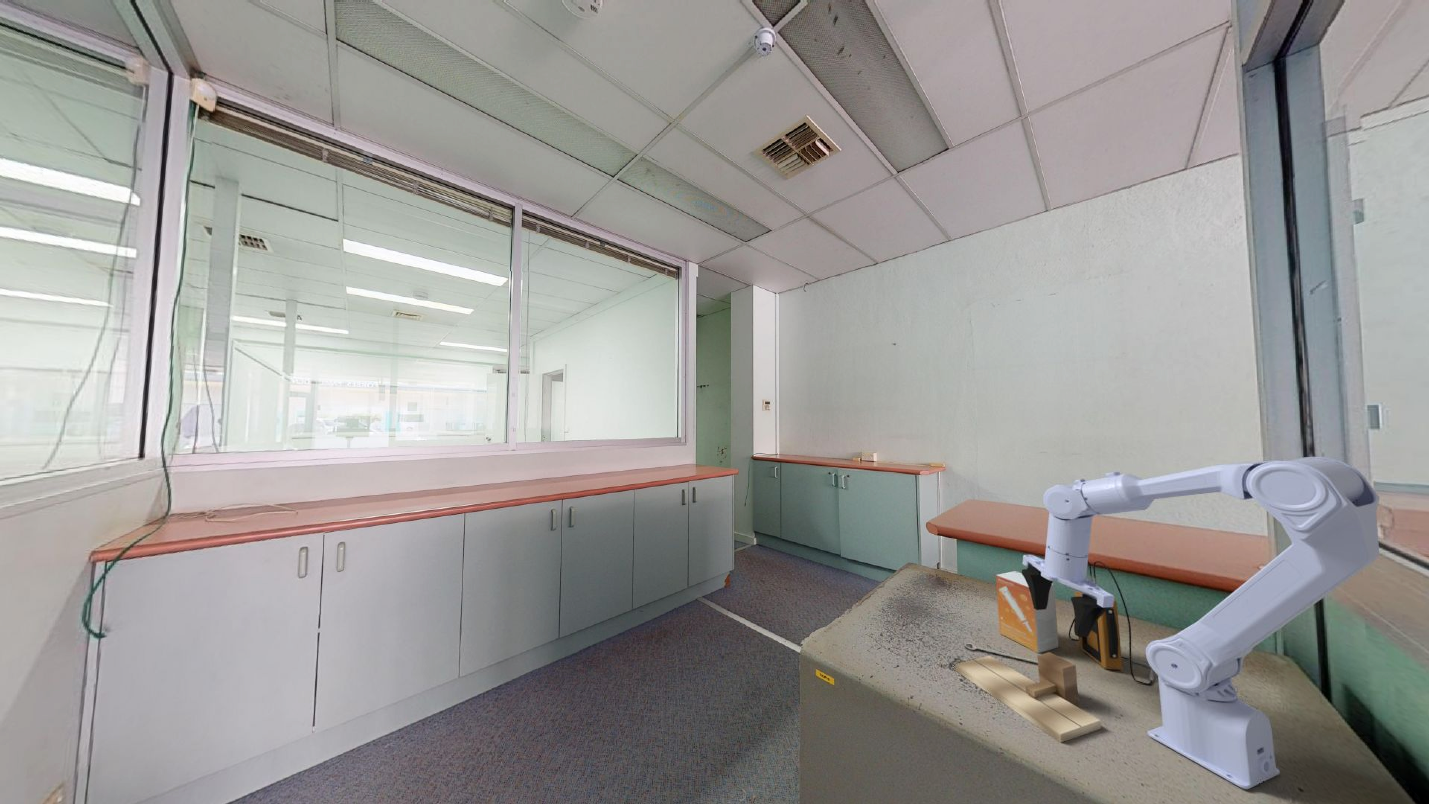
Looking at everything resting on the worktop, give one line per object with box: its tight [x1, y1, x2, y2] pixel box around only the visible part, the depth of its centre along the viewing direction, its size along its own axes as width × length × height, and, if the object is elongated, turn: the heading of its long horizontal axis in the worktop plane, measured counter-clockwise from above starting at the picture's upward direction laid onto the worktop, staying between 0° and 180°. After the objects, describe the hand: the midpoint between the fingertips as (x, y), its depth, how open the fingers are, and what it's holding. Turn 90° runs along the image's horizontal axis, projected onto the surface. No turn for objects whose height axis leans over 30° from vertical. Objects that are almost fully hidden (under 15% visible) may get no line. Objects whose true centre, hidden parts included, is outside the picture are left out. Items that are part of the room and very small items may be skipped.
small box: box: [995, 570, 1059, 654], centre depth 85 cm, size 8×6×13 cm
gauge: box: [1025, 651, 1079, 705], centre depth 67 cm, size 4×8×6 cm, turn 106°
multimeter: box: [1068, 560, 1155, 686], centre depth 77 cm, size 15×10×20 cm
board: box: [954, 655, 1102, 743], centre depth 68 cm, size 18×8×1 cm, turn 16°
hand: (1059, 621), depth 72 cm, fingers open, 7 cm apart
